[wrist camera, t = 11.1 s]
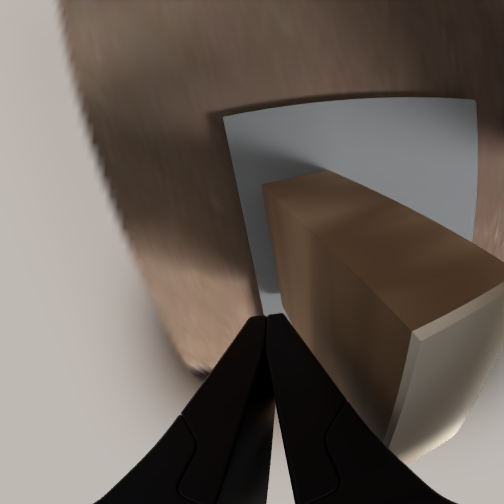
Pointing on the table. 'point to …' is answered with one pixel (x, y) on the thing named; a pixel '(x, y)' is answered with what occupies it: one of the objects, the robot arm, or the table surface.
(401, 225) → the slab
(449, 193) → the mat
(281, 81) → the table surface
